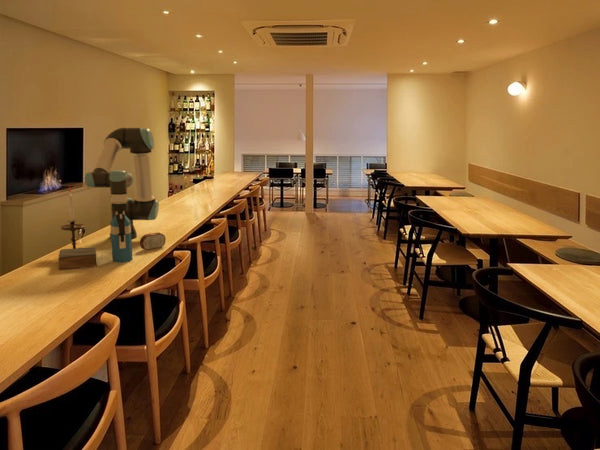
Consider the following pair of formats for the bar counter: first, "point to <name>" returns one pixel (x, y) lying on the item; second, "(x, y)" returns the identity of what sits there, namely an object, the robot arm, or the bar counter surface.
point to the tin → (152, 241)
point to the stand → (77, 258)
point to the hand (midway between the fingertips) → (121, 245)
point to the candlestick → (72, 221)
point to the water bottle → (117, 253)
